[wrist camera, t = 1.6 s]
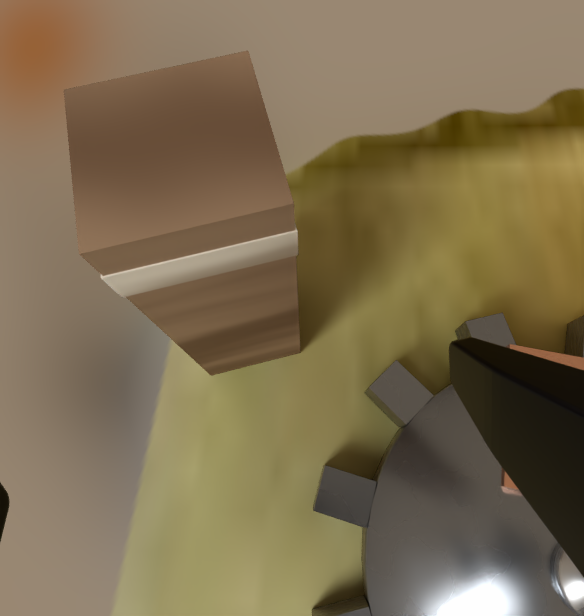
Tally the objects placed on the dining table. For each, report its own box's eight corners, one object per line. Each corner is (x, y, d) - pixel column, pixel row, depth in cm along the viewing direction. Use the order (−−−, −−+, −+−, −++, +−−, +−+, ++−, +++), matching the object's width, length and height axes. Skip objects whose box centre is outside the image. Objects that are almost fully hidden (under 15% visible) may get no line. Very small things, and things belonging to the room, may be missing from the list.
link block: (301, 353, 21) (296, 204, 9) (210, 376, 21) (76, 256, 9) (279, 271, 23) (249, 48, 10) (194, 291, 22) (61, 88, 10)
